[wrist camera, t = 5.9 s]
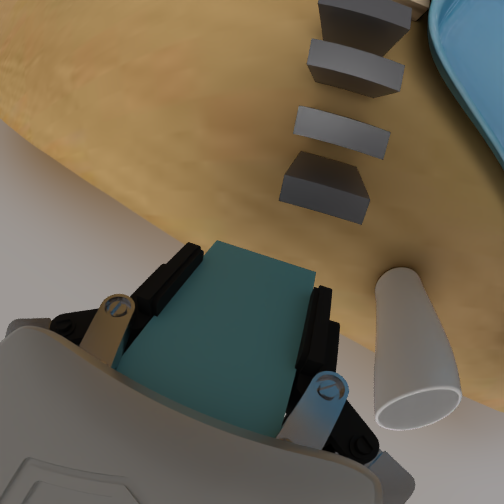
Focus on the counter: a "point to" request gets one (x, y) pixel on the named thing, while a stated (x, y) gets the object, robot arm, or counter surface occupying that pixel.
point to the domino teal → (228, 339)
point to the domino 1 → (364, 23)
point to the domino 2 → (354, 69)
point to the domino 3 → (341, 131)
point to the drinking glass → (411, 356)
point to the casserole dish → (472, 61)
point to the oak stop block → (415, 7)
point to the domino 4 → (325, 187)
